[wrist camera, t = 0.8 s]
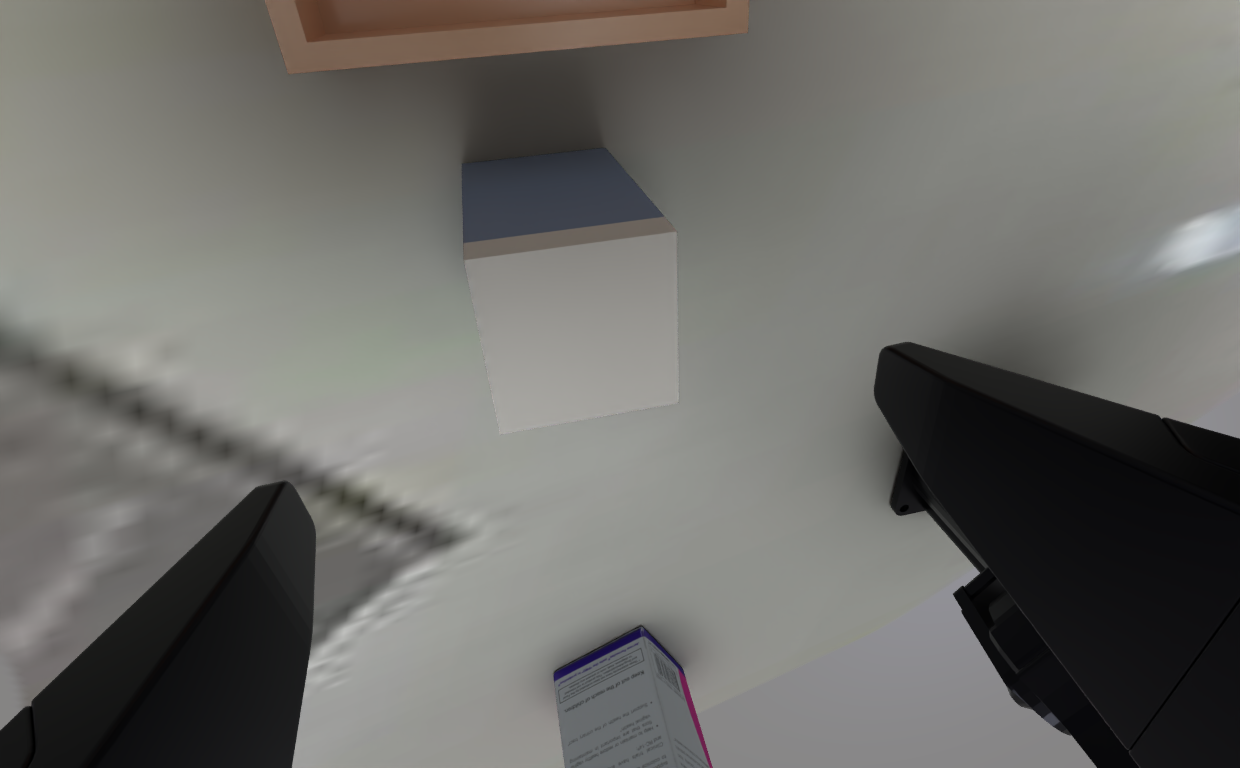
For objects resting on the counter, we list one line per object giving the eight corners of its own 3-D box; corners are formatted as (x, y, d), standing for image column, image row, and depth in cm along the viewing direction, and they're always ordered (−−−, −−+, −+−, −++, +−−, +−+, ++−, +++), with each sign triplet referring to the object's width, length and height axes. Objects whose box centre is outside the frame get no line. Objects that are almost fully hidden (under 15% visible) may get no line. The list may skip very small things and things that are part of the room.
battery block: (614, 278, 22) (678, 403, 16) (487, 297, 22) (500, 434, 15) (604, 147, 20) (677, 231, 13) (461, 163, 19) (463, 260, 13)
